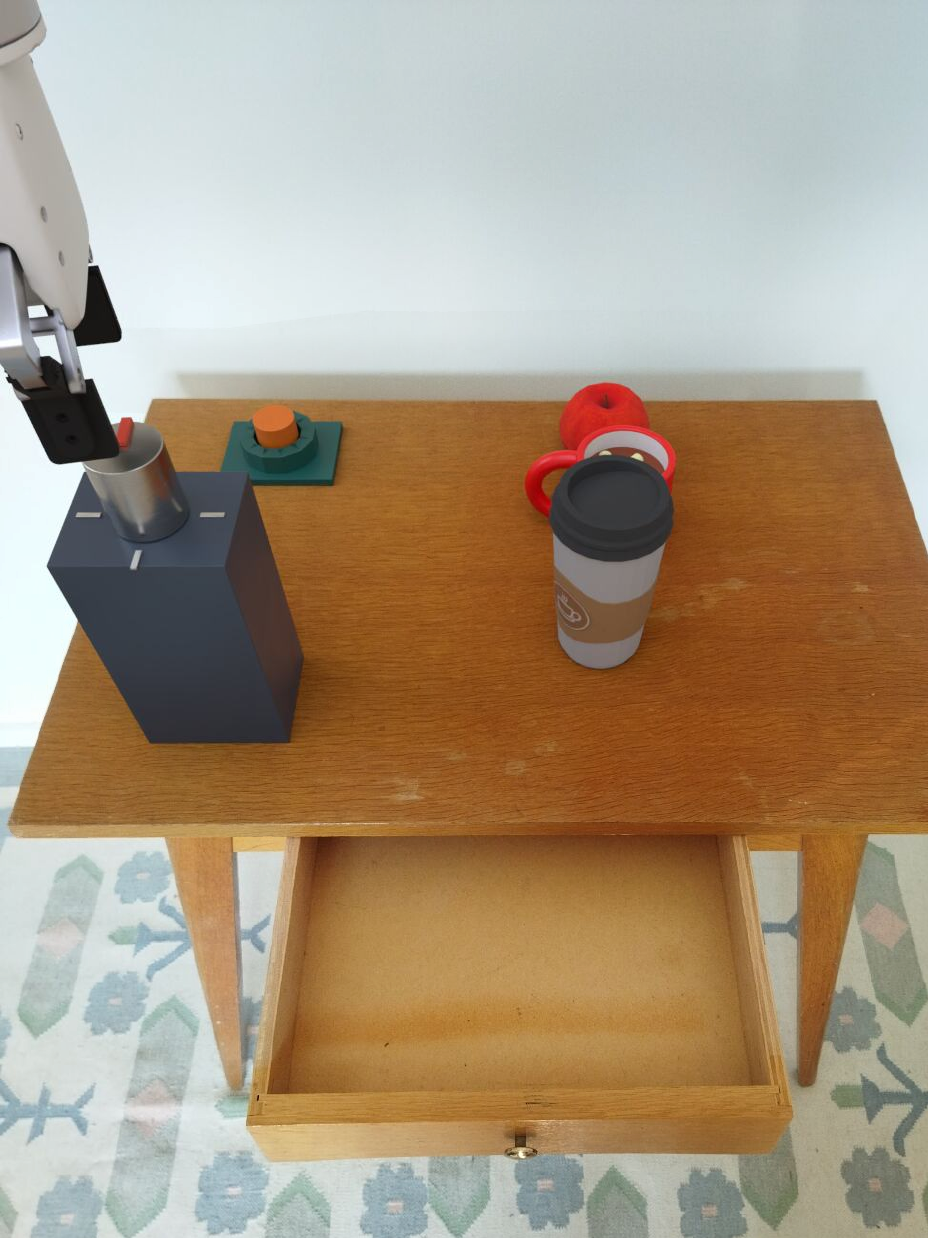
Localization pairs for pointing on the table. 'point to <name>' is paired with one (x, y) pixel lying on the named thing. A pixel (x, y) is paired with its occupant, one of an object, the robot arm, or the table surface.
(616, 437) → the mug
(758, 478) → the table surface
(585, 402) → the apple
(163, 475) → the dial
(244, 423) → the push button base
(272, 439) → the button
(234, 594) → the tall knob tower
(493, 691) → the table surface
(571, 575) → the coffee cup
